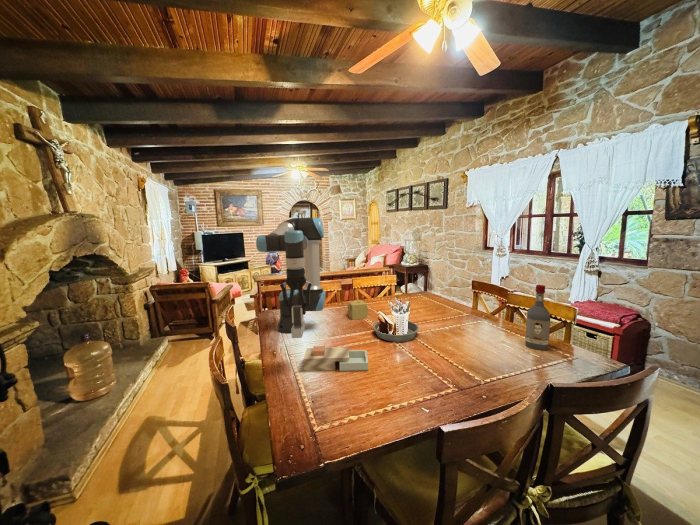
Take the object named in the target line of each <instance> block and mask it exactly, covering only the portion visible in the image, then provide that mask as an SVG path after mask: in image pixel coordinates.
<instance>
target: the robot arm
mask: <svg viewBox="0 0 700 525" xmlns="http://www.w3.org/2000/svg"><path fill="white" fill-rule="evenodd" d="M323 238H325V231H324V226H323V221H322V219H321V218H320V217H293V218H290V219H287V220H284V221H282V222H280V223H279V224H278V225H277V227H276V229H274V230H272V231H271V232H269V233H267V234H262V235H258V236H256V240H255V245H256V249H257V252H260V253H274V252H275V253H279V252H280V253H285V267H286V272H285V274H286V280H285V281H284V282H282V283H280V284H279V287H280V289H281V292H280V293H279V296H278V297H279V298H278V299H279V300H278V301H279V303H278V304H279V317H280V318H279V321H278V324H277V331H278V332H280V333H283V334H292V333H291V328H292V326H293V325H294V315H293V307H294V305H301V308H300V311H301V323H303V321H305V318H304V316H305V315H306V312H321V311H322V312H323V310H324V308H325V303H326V293H327V292H326V290H324V287H323V286H322V285H321V267H320V266H321V265H320V263H321V262H320V244H321V243H322V239H323ZM287 286H288V287H289V288H288V289H287Z"/></svg>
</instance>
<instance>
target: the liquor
mask: <svg viewBox="0 0 700 525" xmlns="http://www.w3.org/2000/svg"><path fill="white" fill-rule="evenodd" d="M535 292H536V293H535V294H536V295H535V302H534V304H533V305H532V306H531V307H529V308H528V310H527V312H526V326H525V327H526V328H525V329H526V330H525V341H524V344H525V346H526V347H527V348H529V349H533V350H538V351H547V350H548V349H549V344H550V343H549V341H550V331H551V330H550V328H551V314H550V312H549V310H548V309H547V307H546V306H545V304H544V301H545V300H544V297H545V296H544V295H545V293H546V285H543V284H535Z"/></svg>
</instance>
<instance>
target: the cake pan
mask: <svg viewBox="0 0 700 525" xmlns="http://www.w3.org/2000/svg"><path fill="white" fill-rule="evenodd" d="M407 321H408V332H407V334H403V335H393V334H386V333H382V332H380V331H378V330H377V328H378V322H379V321H378V322H376V323H374V324H373V326H372V327H373V330H374V331H375V333H376V336H377V337H378V338H379V339H380V340H381V339H382V340H385V341H389V342H396V343H397V342H398V343H399V342H407V341H411V340H413V339H415V338H416V334H417V332H418V331H419V329H420V326H419V325H418V324H417V323H415V322H412V321H409V320H407Z"/></svg>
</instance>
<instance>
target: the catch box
mask: <svg viewBox="0 0 700 525" xmlns="http://www.w3.org/2000/svg"><path fill="white" fill-rule="evenodd" d="M362 371H363V372H367V371H369V357H368V351H367V349H356V350H355V349H354V350H353V349H352V350H351V349H349V361H339V372H362Z"/></svg>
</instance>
